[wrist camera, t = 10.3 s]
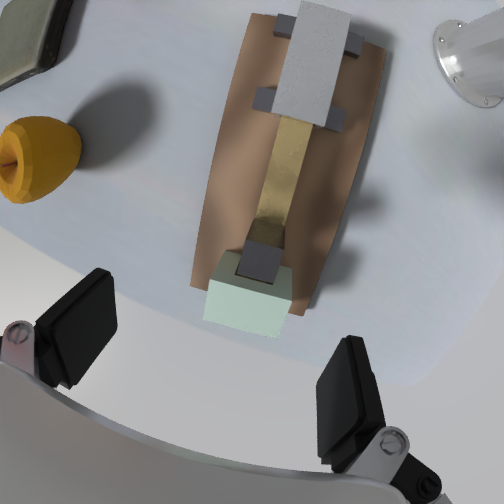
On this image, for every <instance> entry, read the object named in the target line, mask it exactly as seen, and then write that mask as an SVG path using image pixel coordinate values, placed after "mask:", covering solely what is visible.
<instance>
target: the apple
mask: <svg viewBox="0 0 504 504" xmlns="http://www.w3.org/2000/svg"><path fill="white" fill-rule="evenodd" d="M81 149H82V142H81V138H80V134H79V133H78V132H77V131H76V129H75V128H74V127H72V126H70V125H68V124H66V123H64V122H62V121H60V120H57V119H54V118H51V117H45V116H30V117H25V118H20V119H18V120H16V121H14V122H13V123H11V124H10V125H8V126H6V128H5V129H4V131H3V133H2V134H1V136H0V191H1V193H2V194H3V195H4V196H5V197H6V198H7V199H9V200H10V201H11V202H12V203H19V204H24V203H28V202H33V201H35V200H38V199H40V198H42V197H44V196H46V195H47V194H49V193H50V192H52V191H54V190H55V189H56V188H57V187H58V186H60V185H61V184H62V183H63V182H64V181H65V180H66V179H67V178H68V177H69V176H70V175H71V173H72V172H73V171H74V170H75V168H76V166H77V165H78V163H79V159H80V155H81Z"/></svg>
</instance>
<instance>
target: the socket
mask: <svg viewBox="0 0 504 504" xmlns="http://www.w3.org/2000/svg"><path fill="white" fill-rule="evenodd" d="M240 259H241V254H237V253H233V252H230V251H226V250H225V252H224V253H223V255H222V257H221V259H220V261H219V263H218V265H217V267H216V268H215V270H214V272H213V274H212V276H211V278H210V281H209V286H208V292H207V297H206V303H205V308H204V314H203V319H204V320H207V321H211V322H214V323H217V324H221V325H225V326H228V327H232V328H235V329H239V330H243V331H247V332H250V333H254V334H258V335H262V336H266V337H270V338H274V339H277V338H278V336H279V333H280V331H281V328H282V326H283V323H284V321H285V318H286V316H287V313H288V311H289V308H290V306H291V303H292V268H289V267H285V266H281V265H280V266H279V269H278V272H277V275H276V278H275V281H274V284H273V283H269V282H267V284H266V283H262V282H259V281H255V280H251V279H247V278H244V277H240V275H239V274H237V271H238V267H239V263H240Z"/></svg>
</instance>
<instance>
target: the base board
mask: <svg viewBox="0 0 504 504" xmlns="http://www.w3.org/2000/svg"><path fill="white" fill-rule="evenodd" d="M276 19H277V17H275V16H269V15H262V14H256V13H252V14H251V18H250V21H249V24H248V27H247V30H246V33H245V37H244V40H243V43H242V47H241V50H240V53H239V57H238V60H237V64H236V67H235V71H234V75H233V78H232V82H231V86H230V90H229V93H228V97H227V101H226V105H225V109H224V113H223V117H222V121H221V125H220V130H219V134H218V138H217V143H216V147H215V152H214V156H213V161H212V165H211V170H210V175H209V180H208V185H207V190H206V195H205V200H204V205H203V210H202V216H201V221H200V227H199V233H198V239H197V244H196V250H195V257H194V263H193V269H192V276H191V283H190V286H192V287H195V288H198V289H202V290H205V291H208V286H209V281H210V278H211V276H212V274H213V272H214V270H215V268H216V267H217V265H218V263H219V261H220V259H221V257H222V255H223V253H224V252H225V250H226V251H230V252H233V253H237V254H241V255H242V251H243V247H244V243H245V239H246V236H247V234H248V232H249V229H250V227H251V224H252V222H253V219H254V218H255V216H256V213H257V209H258V205H259V201H260V197H261V193H262V189H263V185H264V182H265V178H266V174H267V170H268V166H269V162H270V158H271V155H272V151H273V147H274V143H275V139H276V135H277V132H278V128H279V124H280V120H281V119H279V118H275V117H273V115H272V114H270V113H266V112H261V111H257V110H253V109H252V105H253V101H254V97H255V94H256V90H257V86H260V87H265V88H269V89H274V90H277V88H278V84H279V80H280V76H281V73H282V69H283V65H284V62H285V58H286V54H287V51H288V47H289V43H290V40H289V39H285V38H280V37H275V36H274V35H273V29H274V26H275V22H276ZM385 55H386V50H385V49H382V48H380V47H378V46H375V45H373V44H370V43H368V42H365V41H363V46H362V50H361V55H360V56H359V57H358V58H357V59H355V58H352V57H349V56H346V55H342V59H341V63H340V68H339V72H338V76H337V80H336V84H335V88H334V92H333V96H332V99H331V103H330V105H332V106H335V107H338V108H341V109H343V110H346V111H347V113H346V117H345V121H344V124H343V128H342V132H341V133H336V132H333V131H330V130H327V129H324V128H319V129H315V128H312V130H311V134H310V137H309V141H308V145H307V148H306V152H305V155H304V159H303V163H302V166H301V170H300V173H299V177H298V180H297V184H296V187H295V191H294V194H293V198H292V201H291V205H290V208H289V211H288V215H287V218H286V222H285V225H284V227H285V249H284V253H283V256H282V259H281V263H280V265H281V266H285V267H289V268H292V303H291V306H290V308H289V311H288V313H291V314H295V315H299V316H303V315H304V313H305V311H306V308H307V306H308V304H309V301H310V299H311V296H312V294H313V291H314V289H315V286H316V284H317V281H318V279H319V276H320V274H321V271H322V269H323V266H324V264H325V261H326V258H327V256H328V253H329V250H330V248H331V245H332V242H333V239H334V237H335V234H336V231H337V228H338V225H339V223H340V220H341V217H342V214H343V211H344V208H345V205H346V202H347V199H348V196H349V193H350V190H351V187H352V183H353V180H354V177H355V174H356V171H357V167H358V164H359V161H360V157H361V154H362V150H363V147H364V143H365V140H366V136H367V132H368V129H369V125H370V121H371V117H372V113H373V109H374V105H375V101H376V97H377V92H378V88H379V84H380V79H381V74H382V70H383V65H384V60H385Z"/></svg>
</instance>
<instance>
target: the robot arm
mask: <svg viewBox="0 0 504 504" xmlns="http://www.w3.org/2000/svg"><path fill="white" fill-rule="evenodd" d="M433 43H434V51H435V56H436V59H437V62H438V64H439V67H440V69H441V71H442V73H443V75H444V76H445V78H446V79H447V81H448V83H449V84H450V85H451V86H452V88H453V89H454V90H455V91H456V92H457V93H458V94H459V95H460V96H461V97H462V98H463V99H464V100H466V101H467V102H469V103H471V104H472V105H474V106H477V107H483V108H487V107H493V106H495V105H497V104H498V103H499V102H500V100H501V99H502V97H504V7H503V8H501V9H499V10H496V11H494V12H492V13H489V14H487V15H485V16H483V17H481V18H479V19H476V20H474V21H472V22H470V23H468V24H467V23H464V22H462V21H458V20H449V21H446V22H444V23H442V24H441V25H439V27H438V28H437V29H436V31H435V33H434V39H433ZM35 322H36V325H35V326H34V327H33V326H32V324H30V323H29V322H27V321H15V322H13V323H11V324H10V325H8V326H7V328H6V329H5V331H4V334H3V336H0V504H452V502H451V501H450V500H449V498H448V497H447V496H446V494H445V493H444V494H441V493H440V492H441V490H442V484H441V480H440V478H439V476H438V475H437V474H436V473H435V472H433V471H432V470H431V469H429V468H428V467H426V466H425V465H424V464H423V463H421V462H420V461H419V460H417V459H416V458H415V457H414V456H412V455H411V454H410V453H408V451H409V447H410V443H409V439H408V437H407V435H406V434H405V433H404V432H403V431H402V430H401V429H399V428H397V427H392V426H388V427H386V423H385V418H384V413H383V409H382V404H381V400H380V395H379V391H378V387H377V383H376V379H375V375H374V373H373V372H372V370H371V366H370V362H369V359H368V355H367V351H366V348H365V344H364V340H363V338H362V337H358V336H352V335H348V336H347V337H346V338H342V339H341V341H340V343H339V344H338V346H337V348H336V350H335V352H334V354H333V355H332V357H331V359H330V361H329V362H328V364H327V366H326V368H325V369H324V371H323V373H322V374H321V376H320V378H319V379H318V381H317V385H316V399H317V439H318V440H317V443H318V446H317V447H318V457H320V458H321V462H322V463H321V464H327V465H328V464H330V465H331V468H332V469H331V470H332V472H331V473H323V472H307V471H297V470H288V469H280V468H272V467H265V466H258V465H252V464H247V463H242V462H237V461H232V460H227V459H223V458H218V457H214V456H211V455H206V454H203V453H199V452H195V451H192V450H188V449H185V448H182V447H179V446H176V445H173V444H170V443H167V442H164V441H161V440H158V439H156V438H153V437H150V436H148V435H145V434H142V433H140V432H138V431H135V430H133V429H130V428H128V427H126V426H123V425H121V424H119V423H117V422H115V421H112V420H110V419H108V418H106V417H104V416H102V415H100V414H98V413H96V412H94V411H92V410H90V409H88V408H86V407H84V406H83V405H81V404H79V403H77V402H75V401H73V400H72V399H70V398H68V397H67V396H65V395H63V394H62V393H60V392H58V391H57V386H58V385H59V383H60V385H62V386H64V387H66V388H67V389H69V390H70V389H71V387H72V386H73V385H77V384H78V382H79V381H80V380H81V378H82V377H83V376H84V374H85V373H86V371H87V370H88V369H89V367H90V366H91V365H92V363H93V362H94V360H95V359H96V358H97V356H98V355H99V354H100V352H101V351H102V350H103V348H104V347H105V346H106V345H107V343H108V342H109V341H110V339H111V338H112V337H113V335H114V334H115V333H116V330H117V316H116V304H115V292H114V278H113V276H111V273H110V272H109V271H107V270H104V269H101V268H96V269H94V270H93V271H92V272H91V273H90V274H88V275H87V276H86V277H85V278H84V279H82V280H81V281H80V282H79V283H78V284H76V285H75V286H74V287H73V288H72V289H71V290H70V291H68V292H67V293H66V294H65V295H64V296H63V297H62V298H60V299H59V300H58V301H57V302H56V303H55V304H54V305H52V306H51V307H50V308H49V309H48V310H47V311H46V312H45V313H44V314H43V315H42V316H41V317H39V319H37V320H36V321H35Z"/></svg>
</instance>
